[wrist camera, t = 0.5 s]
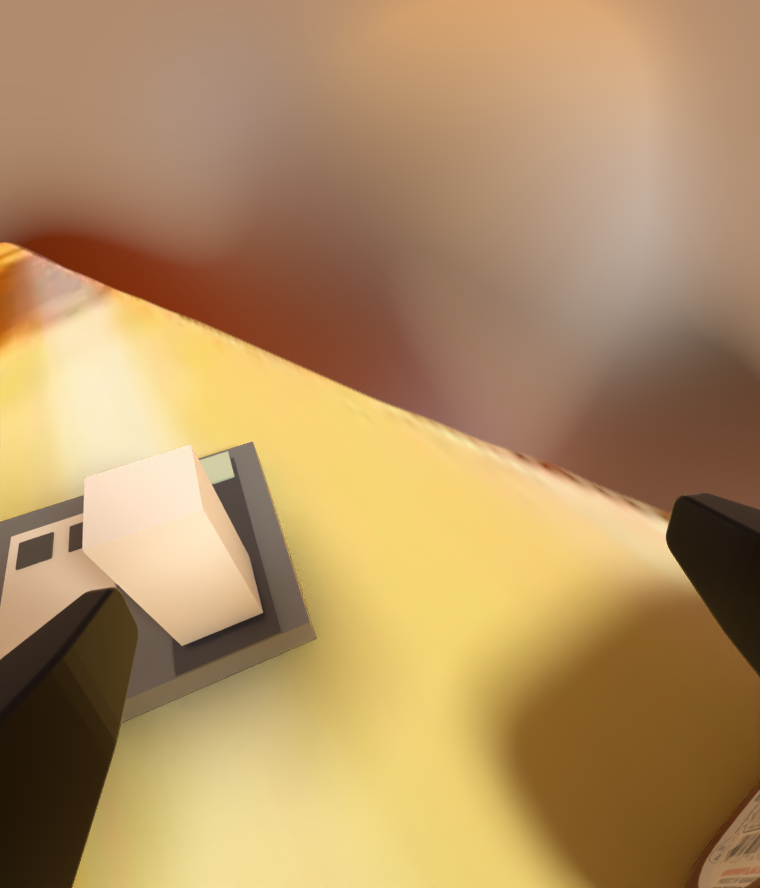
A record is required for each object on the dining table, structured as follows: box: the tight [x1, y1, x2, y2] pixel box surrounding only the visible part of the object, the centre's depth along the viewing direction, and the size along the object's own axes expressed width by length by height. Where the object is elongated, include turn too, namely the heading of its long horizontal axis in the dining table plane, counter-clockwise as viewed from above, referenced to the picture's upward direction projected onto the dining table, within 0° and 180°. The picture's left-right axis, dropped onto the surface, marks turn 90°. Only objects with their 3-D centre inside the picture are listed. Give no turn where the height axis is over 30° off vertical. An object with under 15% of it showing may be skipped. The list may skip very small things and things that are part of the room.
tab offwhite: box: [82, 445, 263, 646], centre depth 18 cm, size 3×4×8 cm
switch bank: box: [0, 442, 316, 723], centre depth 22 cm, size 12×21×2 cm, turn 113°
